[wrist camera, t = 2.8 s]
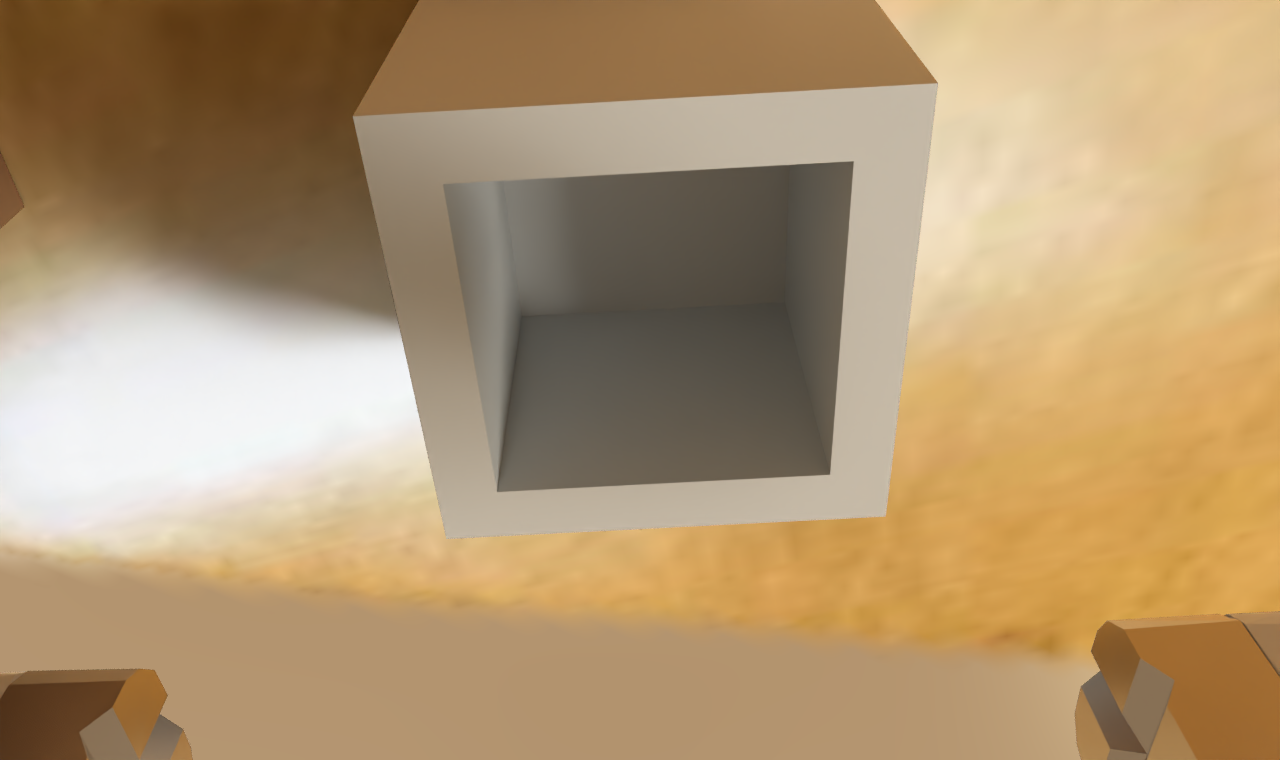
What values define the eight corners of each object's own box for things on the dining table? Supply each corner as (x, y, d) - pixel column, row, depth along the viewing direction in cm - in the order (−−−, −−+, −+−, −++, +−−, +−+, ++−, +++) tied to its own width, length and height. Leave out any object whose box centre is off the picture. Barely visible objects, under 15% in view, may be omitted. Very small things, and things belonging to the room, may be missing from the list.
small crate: (425, -13, 15) (351, 116, 10) (847, -37, 14) (937, 83, 10) (484, 339, 18) (446, 539, 14) (824, 320, 18) (885, 515, 14)
